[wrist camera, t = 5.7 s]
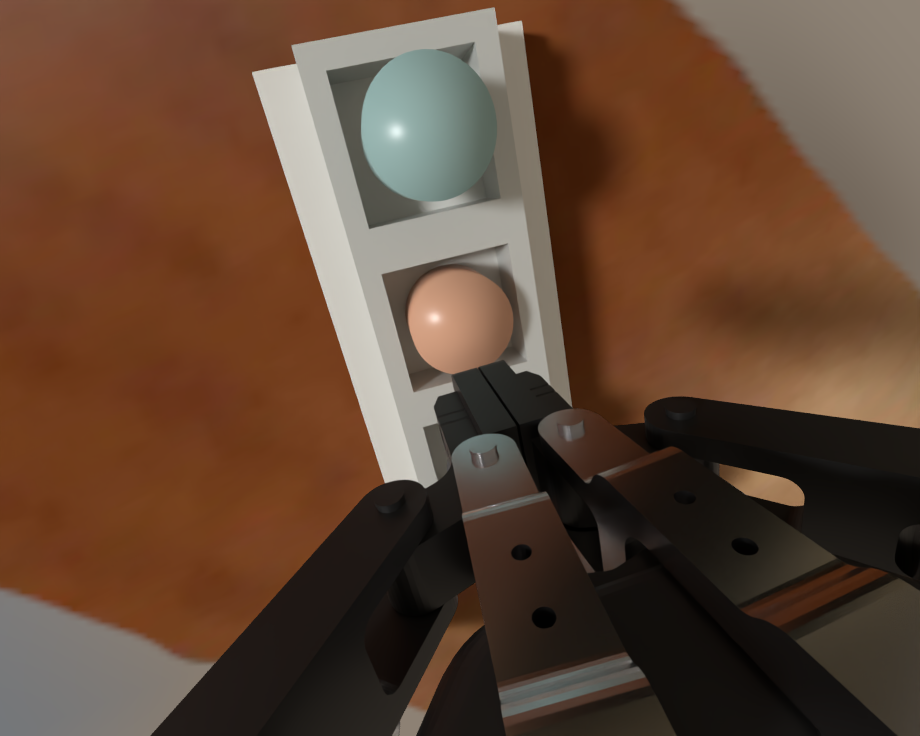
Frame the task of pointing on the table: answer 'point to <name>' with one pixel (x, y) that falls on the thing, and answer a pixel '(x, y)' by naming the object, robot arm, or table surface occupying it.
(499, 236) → the button board
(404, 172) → the teal button
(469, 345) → the terracotta button
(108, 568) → the table surface
